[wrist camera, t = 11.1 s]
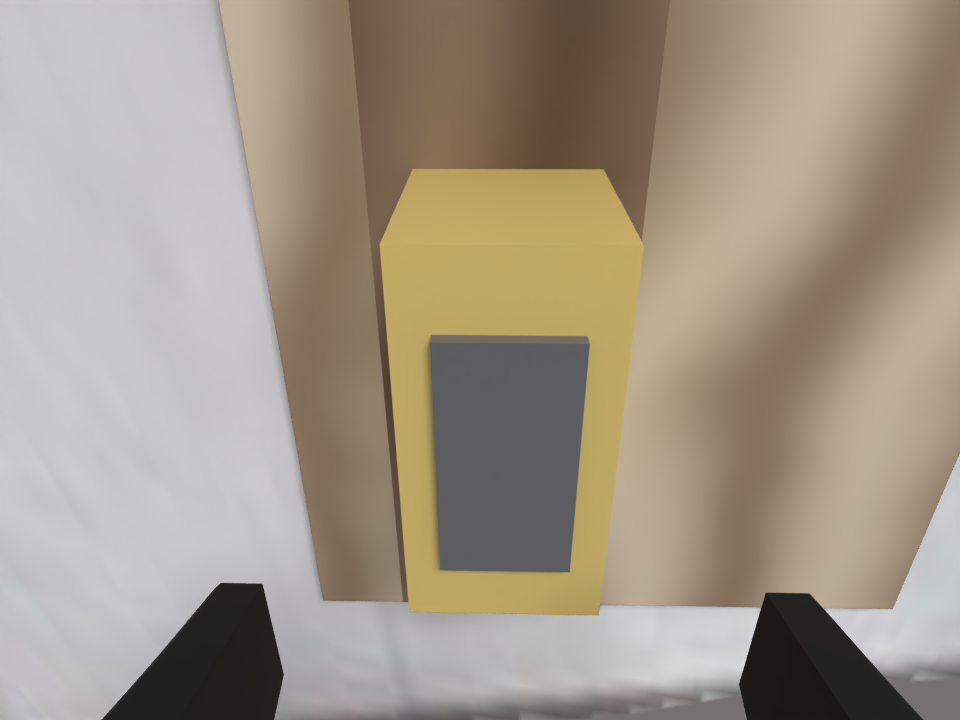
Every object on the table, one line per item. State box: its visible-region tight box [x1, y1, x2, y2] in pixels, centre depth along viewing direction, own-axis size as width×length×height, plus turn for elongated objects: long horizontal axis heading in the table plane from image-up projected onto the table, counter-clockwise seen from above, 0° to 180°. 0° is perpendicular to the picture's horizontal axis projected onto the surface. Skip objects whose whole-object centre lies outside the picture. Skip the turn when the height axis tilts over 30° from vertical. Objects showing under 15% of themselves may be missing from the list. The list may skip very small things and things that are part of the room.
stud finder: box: [380, 169, 644, 615], centre depth 16 cm, size 4×9×5 cm, turn 0°
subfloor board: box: [219, 0, 960, 609], centre depth 18 cm, size 19×20×1 cm
